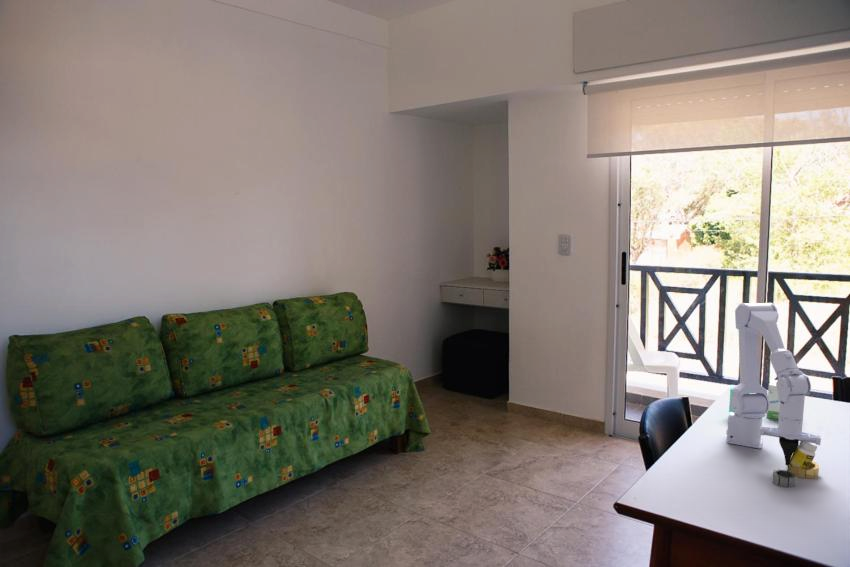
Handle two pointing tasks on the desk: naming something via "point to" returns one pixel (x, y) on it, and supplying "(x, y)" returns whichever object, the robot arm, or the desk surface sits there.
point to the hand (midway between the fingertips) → (787, 463)
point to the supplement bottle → (803, 455)
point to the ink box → (773, 400)
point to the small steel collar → (783, 478)
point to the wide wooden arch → (805, 471)
